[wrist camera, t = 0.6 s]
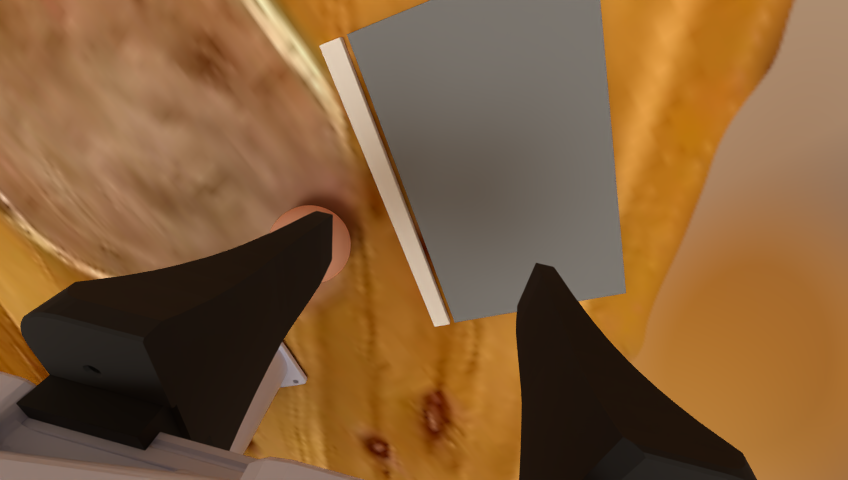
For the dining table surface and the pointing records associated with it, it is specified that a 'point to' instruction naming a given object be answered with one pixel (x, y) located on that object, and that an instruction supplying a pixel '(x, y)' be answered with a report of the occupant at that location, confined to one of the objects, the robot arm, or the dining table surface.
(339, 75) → the mat
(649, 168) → the dining table surface
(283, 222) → the ball
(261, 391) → the robot arm
